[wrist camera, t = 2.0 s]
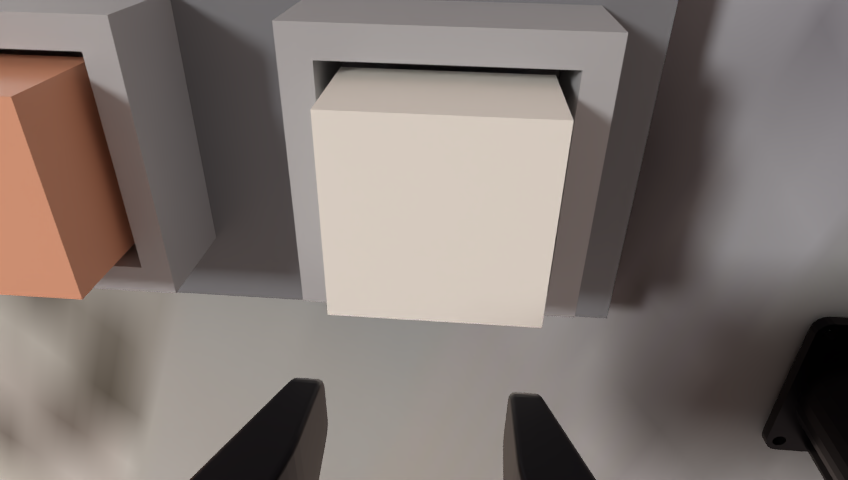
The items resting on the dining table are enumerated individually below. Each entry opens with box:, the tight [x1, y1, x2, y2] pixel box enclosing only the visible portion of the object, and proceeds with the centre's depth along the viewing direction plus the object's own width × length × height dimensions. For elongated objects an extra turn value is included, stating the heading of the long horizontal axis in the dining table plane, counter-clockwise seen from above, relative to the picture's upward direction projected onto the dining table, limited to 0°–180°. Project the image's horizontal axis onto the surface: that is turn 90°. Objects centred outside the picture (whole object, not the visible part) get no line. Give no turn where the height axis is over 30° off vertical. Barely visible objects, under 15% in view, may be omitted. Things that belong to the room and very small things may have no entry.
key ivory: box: [310, 67, 574, 328], centre depth 14 cm, size 5×5×3 cm
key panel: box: [0, 0, 678, 318], centre depth 17 cm, size 12×22×5 cm, turn 89°
